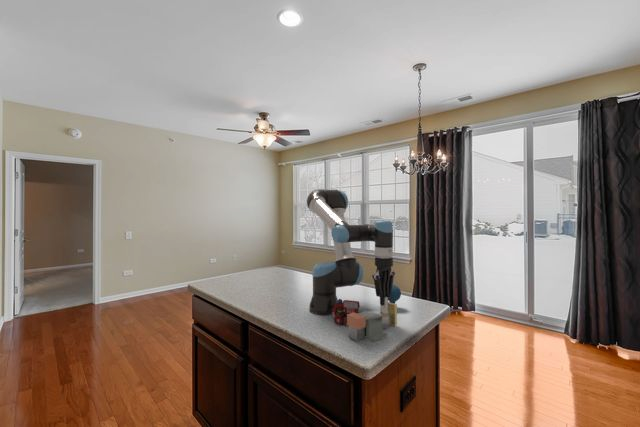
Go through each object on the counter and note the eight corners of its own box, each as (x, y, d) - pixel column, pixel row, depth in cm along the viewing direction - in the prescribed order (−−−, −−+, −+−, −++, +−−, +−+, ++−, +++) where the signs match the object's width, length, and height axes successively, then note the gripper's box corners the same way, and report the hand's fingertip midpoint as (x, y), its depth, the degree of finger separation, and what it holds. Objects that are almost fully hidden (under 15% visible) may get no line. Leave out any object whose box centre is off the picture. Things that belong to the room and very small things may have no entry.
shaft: (359, 342, 105) (359, 318, 105) (346, 336, 110) (346, 313, 110) (396, 325, 121) (396, 304, 121) (383, 320, 126) (383, 300, 126)
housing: (374, 341, 106) (374, 322, 106) (349, 331, 116) (349, 313, 116) (387, 335, 112) (387, 317, 112) (362, 326, 121) (362, 309, 121)
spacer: (358, 329, 106) (358, 318, 106) (347, 324, 110) (346, 314, 110) (365, 326, 108) (365, 316, 108) (353, 322, 113) (353, 312, 113)
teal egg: (401, 311, 139) (401, 287, 139) (384, 310, 140) (384, 286, 140) (400, 306, 147) (400, 283, 147) (383, 305, 149) (383, 282, 149)
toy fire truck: (335, 318, 131) (335, 295, 131) (361, 322, 125) (361, 299, 125) (329, 323, 124) (329, 299, 124) (357, 328, 119) (356, 303, 119)
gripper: (381, 259, 114) (381, 318, 114) (400, 256, 122) (400, 311, 122) (367, 257, 119) (367, 313, 119) (385, 254, 128) (386, 306, 128)
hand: (384, 312), depth 121 cm, fingers closed
